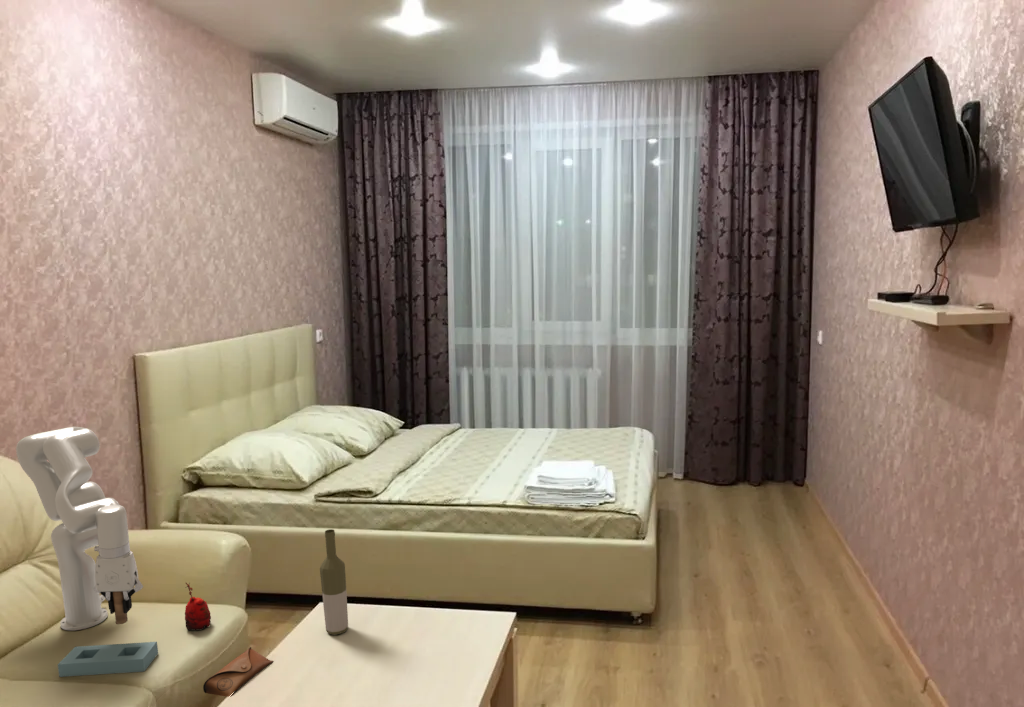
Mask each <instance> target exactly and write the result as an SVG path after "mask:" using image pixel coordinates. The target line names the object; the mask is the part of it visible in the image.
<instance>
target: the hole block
mask: <svg viewBox="0 0 1024 707" xmlns="http://www.w3.org/2000/svg"><path fill="white" fill-rule="evenodd" d="M158 654H159V648H158V642H157V641H148V642H147V641H145V642H130V643H127V642H126V643H115V644H114V643H112V644H99V645H98V644H95V645H81V646H78V645H77V646H75V647H73V648H72V649H71V650H70V651H69V653H67V654H66V655H65V656H64V658H62V660H60V661H59V663H58V664H57V669H58V677H60V678H62V677H76V676H77V677H78V676H93V675H108V674H124V673H139V672H146V670H147V668H149V666H150V665H151V664H152V662H153V661H154V660H155V658H156V657H157V656H158Z"/></svg>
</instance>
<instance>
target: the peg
mask: <svg viewBox="0 0 1024 707" xmlns="http://www.w3.org/2000/svg"><path fill="white" fill-rule="evenodd" d="M113 600H114V609H115V612H114V617H115V618H114V619H115V624H117V625H123V624H125V623H127V622H128V621H129V619H128V612H127V613H124V612H123V602H122V601H123V600H124V595H123V591H121V592H113Z"/></svg>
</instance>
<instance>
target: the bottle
mask: <svg viewBox="0 0 1024 707" xmlns="http://www.w3.org/2000/svg"><path fill="white" fill-rule="evenodd" d="M324 538H325V547H326V548H325V549H326V557H325V559H324V560H323V561H322V562H321V564H320V568H319V576H320V584H321V594H322V604H323V606H322V607H323V614H324V624H325V631H326V633H328V634H329V635H333V636H334V635H340V634H343V633H346V631H348V628H349V616H348V615H349V614H348V613H349V612H348V599H347V598H348V594H347V581H346V580H347V579H346V578H347V577H346V564H345V562H344V561H343V560H342V559H341V558H339V557H338V556H337V548H336V547H337V546H336V532H335V529H333V528H332V529H326V530H325V531H324Z"/></svg>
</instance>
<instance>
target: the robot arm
mask: <svg viewBox="0 0 1024 707" xmlns="http://www.w3.org/2000/svg"><path fill="white" fill-rule="evenodd" d="M100 444H101V442H100V440H99V437H98V435H97V434H96V433H95V432H94V431H93V430H92V429H90V428H86V427H81V426H68V427H63V428H62V427H61V428H59V429H54V430H53V429H52V430H48V431H43V432H38V433H34V434H31V435H27V436H25V437H23V438H22V439H20V440H19V441H18V442H17V444H16V448H15V450H16V457H17V460H18V463H19V466H20V467H21V469H22V470H23V471H24V473H25V474H26V475H27V476H28V477H29V479H30V480H31V481H32V483H33V484H34V486H35V489H36V491H37V494H38V496H39V498H40V501H41V504H42V506H43V509H44V511H45V513H46V515H47V516H48V518H49V519H50V520H52V521H55V522H57V521H58V522H59V521H61V523H60V524H58V525H56V526H55V527H54V528H53V530H52V532H51V534H50V540H51V544H52V546H53V550H54V552H55V555H56V556H55V557H56V559H57V565H58V570H59V571H58V572H59V578H60V585H61V594H62V600H63V607H64V615H65V617H63V618H62V619H61V620H60V622H59V624H60V628H61V629H62V630H65V631H79V630H85V629H88V628H91V627H95V626H97V625H98V624H100V623H102V622H104V621H105V620H106V618H108V614H109V613H108V612H110V615H113V614H115V609H114V600H113V592H121V591H123V595H124V600H123V601H122V602H123V612H124V613H127V614H128V612H130V610H131V609H132V607H133V602H132V596H134V594H135V593H137V592H140V591H141V590H142V589H143V588H144V586H143V585H144V584H142V582H141V581H140V579H139V571H138V567H137V562H136V557H135V556H134V553H133V551H131V547H130V538H129V526H128V513H127V510H126V507H125V506H123V505H120V502H119V501H117V499H115V498H114V497H106V495H105V493H104V491H103V489H102V487H101V486H100V485H99V484H98V483H97V482H95V481H89V480H91V478H92V476H93V473H94V472H93V469H92V466H91V465H90V463H89V462H88V460H87V459H86V457H91V456H94V455H97V453H99V452H100V449H101V448H100V446H101V445H100ZM93 547H94V548H93ZM90 548H93V549H94V550H93V551H94V552H98V555H97V556H96V559H95V560H94V558H93V556H91V555H90V554H88V553H86V550H88V549H90ZM105 600H106V601H107V604H108V605H107V606H108V610H109V611H108V610H107V609H106V608H103V607H102V603H103V602H104V601H105Z"/></svg>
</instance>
